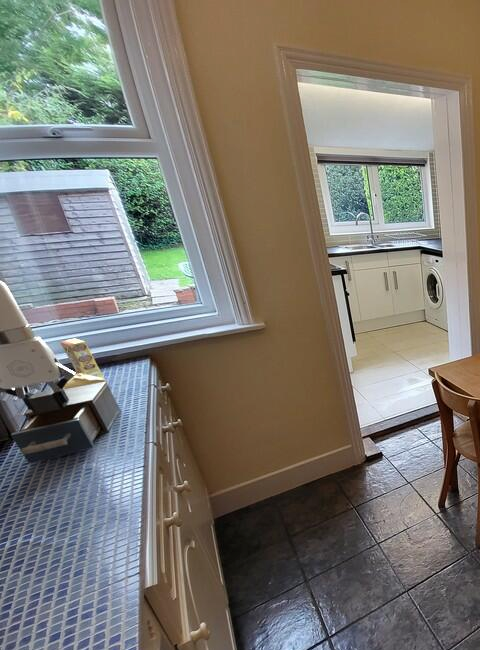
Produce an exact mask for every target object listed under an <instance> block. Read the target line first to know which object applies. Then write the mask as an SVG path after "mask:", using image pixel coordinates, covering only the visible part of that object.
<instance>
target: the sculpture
mask: <svg viewBox="0 0 480 650" xmlns="http://www.w3.org/2000/svg"><path fill="white" fill-rule="evenodd" d="M63 377H64V376H62V377H61V379H62V378H63ZM104 379H105V378H104ZM104 379H103V378H100V377H94V376H90V375H87V374H84V373H79V374H77V373H76V375H75V376H74V377H73V378H71V379H70V380H69V381H68V382H67V383H66V385H65V386H64V387H63V390H65V389H70V388H75V387H80V386H85V385H91V384H96V383H101V382H107V381H106V379H105V380H104ZM50 390H53V389H52V388H50Z"/></svg>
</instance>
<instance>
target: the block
mask: <svg viewBox="0 0 480 650" xmlns="http://www.w3.org/2000/svg"><path fill="white" fill-rule="evenodd" d="M53 393H54V391H53V390H51V389H49V390H43V391H38V392H35V393H32V394H33V395H32V396H31V397H30V398H29V401H30V403H31V404H32V406H33V408H34V409H35V411H36V413H37V414H39V413H44V412H49V411H54V410H58V409H61V407H60V406H59V404H58V403H57V401H56V399H55V398H54V396H53Z"/></svg>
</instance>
